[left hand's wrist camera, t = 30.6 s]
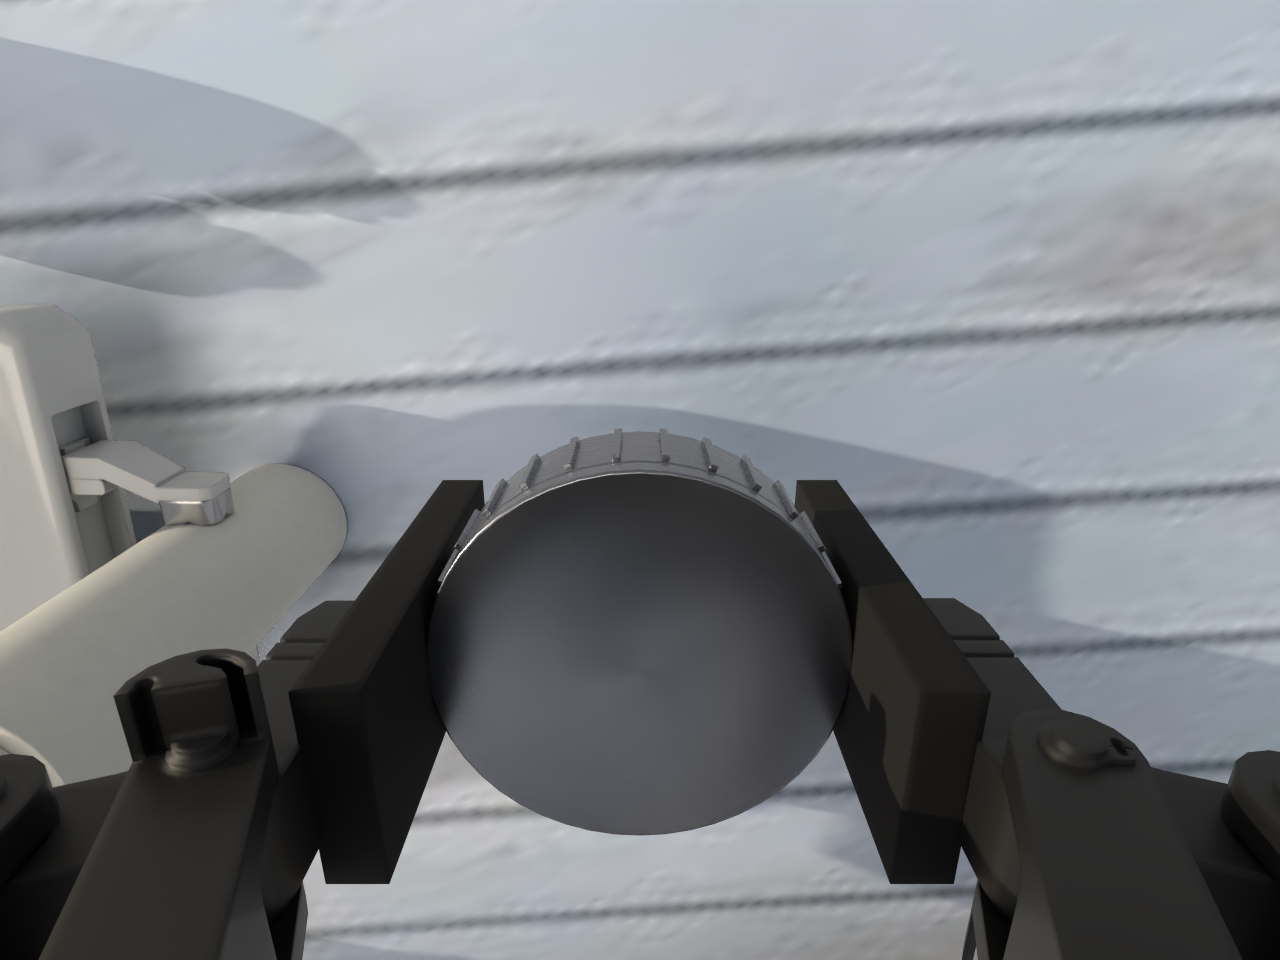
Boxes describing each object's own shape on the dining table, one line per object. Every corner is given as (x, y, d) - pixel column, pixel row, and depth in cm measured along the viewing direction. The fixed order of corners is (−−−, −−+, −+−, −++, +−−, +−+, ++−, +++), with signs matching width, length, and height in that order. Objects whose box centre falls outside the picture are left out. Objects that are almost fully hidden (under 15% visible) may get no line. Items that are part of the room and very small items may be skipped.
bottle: (218, 461, 33) (-283, 750, 15) (340, 464, 33) (-13, 756, 15) (237, 571, 35) (-188, 945, 17) (353, 574, 35) (52, 949, 17)
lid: (519, 791, 13) (502, 874, 12) (392, 482, 11) (348, 530, 10) (856, 717, 13) (889, 794, 11) (787, 379, 11) (815, 411, 9)
